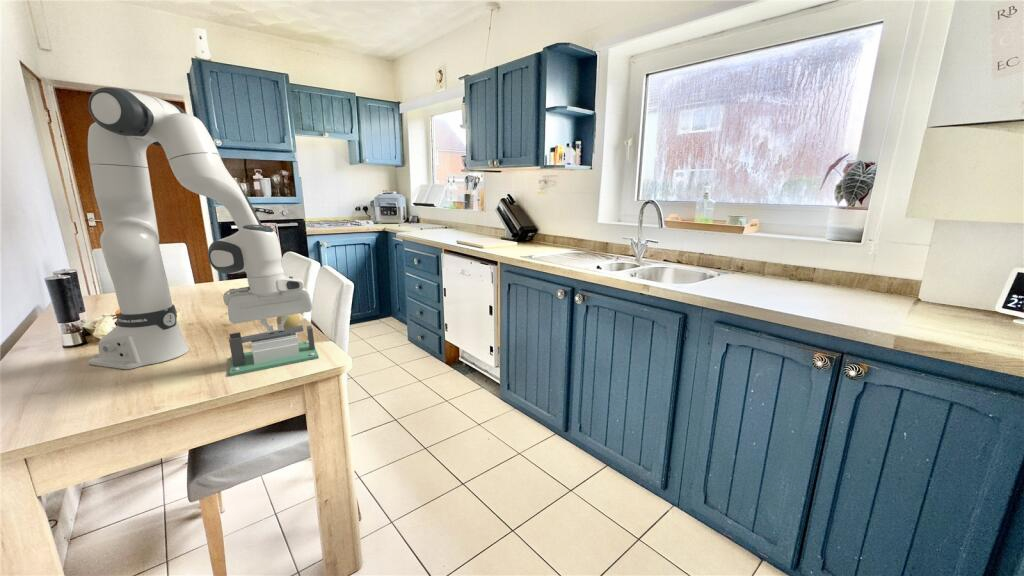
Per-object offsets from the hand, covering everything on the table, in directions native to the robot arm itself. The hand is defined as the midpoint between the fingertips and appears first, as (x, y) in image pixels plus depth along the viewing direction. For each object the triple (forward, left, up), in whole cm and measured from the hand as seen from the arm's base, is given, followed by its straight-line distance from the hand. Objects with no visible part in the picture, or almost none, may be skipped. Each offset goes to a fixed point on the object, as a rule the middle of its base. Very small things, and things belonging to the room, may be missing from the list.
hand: (275, 331), depth 114 cm
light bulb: (-4, +13, -8) cm, 16 cm away
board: (-1, 0, -8) cm, 8 cm away
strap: (-1, -1, -1) cm, 2 cm away
